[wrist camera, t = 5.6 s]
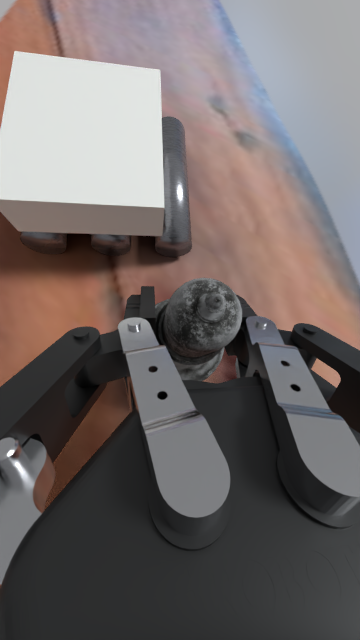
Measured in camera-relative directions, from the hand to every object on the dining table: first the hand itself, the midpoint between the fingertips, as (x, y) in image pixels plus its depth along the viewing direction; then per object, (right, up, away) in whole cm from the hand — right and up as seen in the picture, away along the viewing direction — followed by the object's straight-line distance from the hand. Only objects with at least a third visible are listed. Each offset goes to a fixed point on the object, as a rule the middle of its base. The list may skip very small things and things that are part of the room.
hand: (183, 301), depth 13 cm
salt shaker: (-1, -3, +5) cm, 6 cm away
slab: (-7, +11, +4) cm, 14 cm away
